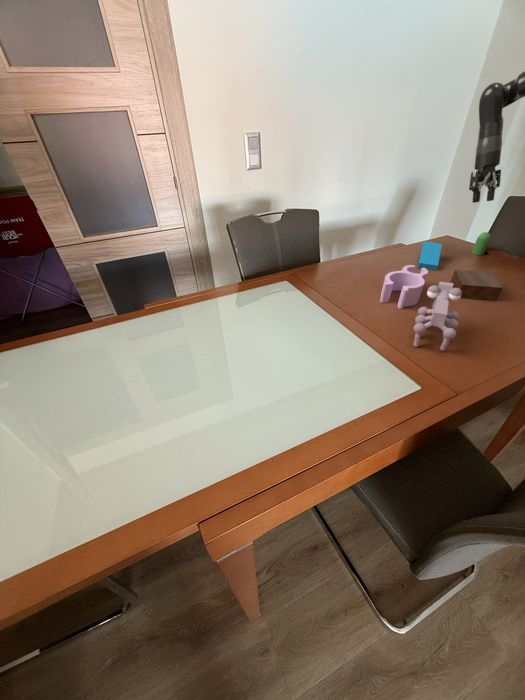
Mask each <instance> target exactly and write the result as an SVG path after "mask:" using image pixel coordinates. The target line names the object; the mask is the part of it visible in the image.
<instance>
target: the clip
mask: <svg viewBox="0 0 525 700" xmlns="http://www.w3.org/2000/svg"><path fill="white" fill-rule="evenodd" d="M415 268H416V264H415V265H414V264H408V265H404V266H403V267H402V269H401V270H394V271H390V272H388V273H387V274H386V275H385V276H384V279H383V284H382V287H381V293H380V299H379V302H380V303H381V304H382V303H388V302H390V299H391V295H392V292H393V291H400V295H399V298H398V302H397V308H398V309H399V310H403V309H404V307H412V306H415V305H416V304H418V303H419V301H420V298H421V295H422V291H423V289H424V286H425V282H426V279H427V277H428V273H429V271H428V270H429V269H426V268H420V272H419V273H418V272H417V273H416V272H415Z"/></svg>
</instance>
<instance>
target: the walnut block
mask: <svg viewBox="0 0 525 700" xmlns="http://www.w3.org/2000/svg"><path fill="white" fill-rule="evenodd" d="M449 283H453V288H459V289H460V290H461V291H462V294H461V297H460V299H467V300H468V299H469V300H479V301H481V300H482V301H490V302H491V301H493V302H497V301H498V299H499V297H500V295H501V294H502V292H503V290H504V287H503V286H502V284H501V283H500V281H499V280H498V278H497V277H496V276H495V274H494V273H493V272H492V271H479V270H467V269H454V271H453V273H452V276H451V279H450V281H449ZM453 288H452V289H453Z"/></svg>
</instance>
